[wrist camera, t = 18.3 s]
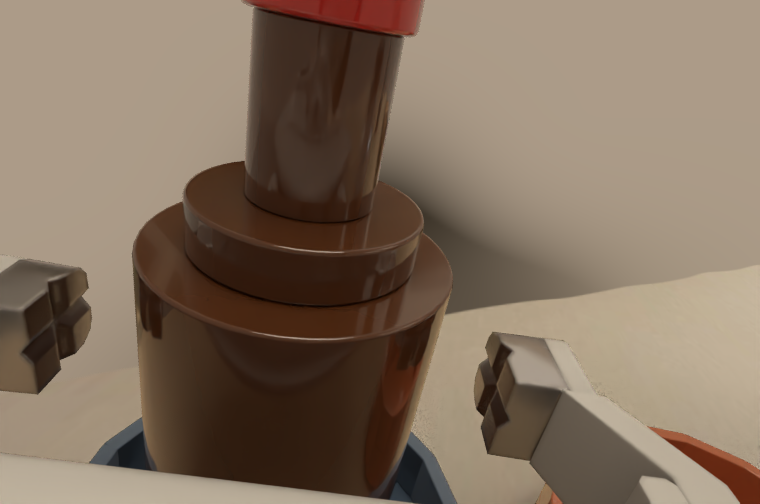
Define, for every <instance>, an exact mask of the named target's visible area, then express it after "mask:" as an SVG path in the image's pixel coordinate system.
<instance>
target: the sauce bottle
mask: <svg viewBox="0 0 760 504" xmlns="http://www.w3.org/2000/svg"><path fill="white" fill-rule="evenodd" d="M241 1H242V2H243V3H244V4H246V5H248V6H252V7H254V8H253V18H252V36H251V37H252V38H251V55H250V56H251V57H250V74H249V94H248V111H247V131H246V151H245V161H241V162H232V163H227V164H223V165H218V166H215V167H211V168H209V169H206V170H204V171H202V172H200V173H198V174H196V175H195V176H194V177H192V178H191V179H190V180H189V181H188V183H187V184H186V186H185V188H184V191H183V201H182V202H180V203H177V204H175V205H172V206H170V207H168V208H166V209H164V210H163V211H161V212H159V213H158V214H156V215H155V216H154V217H153V218H151V219H150V220H149V221H148V222H146V223H145V225H144V226H143V227H142V229H141V230H140V231H139V233H138V235H137V237H136V239H135V241H134V244H133V251H132V262H133V276H134V277H133V278H134V294H135V308H136V309H135V310H136V327H137V343H138V359H139V375H140V391H141V408H142V424H143V440H144V456H145V470H148V471H156V472H164V473H173V474H181V475H189V476H197V477H205V478H214V479H222V480H230V481H238V482H247V483H255V484H263V485H271V486H280V487H288V488H296V489H304V490H312V491H320V492H328V493H336V494H344V495H352V496H360V497H368V498H376V499H384V500H391V497H392V493H393V490H394V487H395V483H396V480H397V476H398V473H399V469H400V466H401V463H402V459H403V456H404V452H405V449H406V445H407V442H408V438H409V435H410V432H411V428H412V425H413V421H414V418H415V414H416V411H417V407H418V404H419V401H420V397H421V394H422V390H423V387H424V383H425V380H426V376H427V373H428V370H429V366H430V363H431V359H432V356H433V352H434V349H435V345H436V342H437V339H438V335H439V332H440V328H441V325H442V321H443V318H444V315H445V311H446V307H447V304H448V300H449V297H450V294H451V290H452V286H453V276H452V272H451V267H450V264H449V262H448V260H447V258H446V256H445V255H444V253H443V252H442V251H441V249H440V248H439V247H438V246H437V245H436V244H435V243H434V242H433V241H432V240H431V239H430V238H429V237H428V236H426V235H425V234H424V233H423V232H422V231H423V227H424V221H423V215H422V213H421V211H420V209H419V207H418V206H417V205H416V204H415V203H414V202H413V201H412V200H411V199H410V198H409V197H407V196H406V195H405V194H403V193H402V192H400V191H398V190H397V189H395V188H393V187H391V186H389V185H387V184H385V183H383V182H381V181H378V177H379V172H380V167H381V162H382V156H383V151H384V145H385V140H386V135H387V129H388V124H389V119H390V113H391V108H392V103H393V97H394V92H395V86H396V81H397V76H398V70H399V64H400V60H401V54H402V49H403V43H404V37H414V36H416V35H417V33H418V32H419V27H420V22H421V17H422V12H423V7H424V2H425V0H241Z"/></svg>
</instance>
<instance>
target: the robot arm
mask: <svg viewBox="0 0 760 504" xmlns="http://www.w3.org/2000/svg"><path fill="white" fill-rule="evenodd" d="M88 288H89V287H88V281H87V275H86V272H84V271H83V270H82V269H81V268H79V267H73V266H67V265H61V264H55V263H50V262H44V261H39V260H32V259H25V258H22V257H15V256H8V255H0V391H9V392H18V393H28V394H37V395H38V394H39V393H40V392H41V391H42V390H43V388H44V387H45V386H46V385H47V384H48V383H49V382H50V381H51V380H52V379H53V377H54V376H55V375H56V374H57V373H58V372H59V371H60V370H61V366H60V360H61V359H64V358H66V357H68V356H70V355H73V354H75V353H76V352H77V351H78V350H79V349H80V347H81V346H82V345H83V344H84V342H85V340H86V338H87V336H88V333H89V331H90V328H91V320H92V315H91V307H90V306H89V304H88V303H87V302H86V301H85V300H84V299H83V297H82V295H83V294H84V293H85V292H86V290H87V289H88ZM485 348H486V352H487V355H488V358H487V359H486V360H485V361H483V362H482V363H481V364H479V367H478V370H477V373H476V377H475V384H474V400H475V405H476V409H477V411H478V412H479V413H480V414H481V415H482V416H483V417H484V419H483V422H482V425H481V430H482V434H483V438H484V442H485V446H486V450H487V454H490V455H496V456H502V457H508V458H515V459H521V460H527V461H530V464H531V465H532V467H533V468H534V469H535V470H536V471H537V473H538V474H539V475H540V476H541V477H542V479H543V480H544V481H545V482H546V483H547V485H548V486H549V487H550V488H551V489H552V491H553V492H554V493H555V494H556V496H557V497H558V498H559V499H560V500H561V502H562V503H563V504H740V502H739V501H738V500H737V498H736V497H735V496H734V494H733V493H732V491H731V490H730V489H729V487H728V486H727V485H726V484H724V483H723V482H722V481H720V480H719V479H718V478H716V477H715V476H714V475H712V474H711V473H710V472H708V471H707V470H705V469H704V468H703V467H701V466H700V465H699V464H697V463H696V462H695V461H693V460H692V459H690V458H689V457H688V456H686V455H685V454H684V453H682V452H681V451H680V450H678V449H677V448H675V447H674V446H673V445H671V444H670V443H669V442H667V441H666V440H665V439H663V438H662V437H660V436H659V435H658V434H656V433H655V432H654V431H652V430H651V429H650V428H648V427H647V426H645V425H644V424H643V423H641V422H640V421H639V420H637V419H636V418H635V417H633V416H632V415H630V414H629V413H628V412H626V411H625V410H624V409H622V408H621V407H620V406H618V405H617V404H615V403H614V402H613V401H611V400H610V399H609V398H607V397H606V396H602V395H598V394H597V393H596V391H595V389H594V387H593V386H592V384H591V382H590V380H589V379H588V377H587V375H586V374H585V372H584V370H583V368H582V367H581V365H580V363H579V361H578V360H577V358H576V356H575V354H574V353H573V351H572V349H571V348H570V346H569V344H568V343H566V342H565V341H563V340H556V339H547V338H536V337H529V336H521V335H514V334H506V333H499V332H492V334H491V335H490V337H489V339H488V341H487V344H486V347H485ZM0 504H416V503H408V502H400V501H392V500H384V499H376V498H368V497H360V496H352V495H344V494H336V493H328V492H320V491H312V490H304V489H296V488H288V487H280V486H271V485H263V484H255V483H247V482H238V481H230V480H222V479H214V478H205V477H197V476H189V475H181V474H173V473H164V472H156V471H148V470H140V469H131V468H123V467H115V466H107V465H98V464H90V463H82V462H74V461H66V460H58V459H49V458H41V457H33V456H25V455H17V454H9V453H0Z"/></svg>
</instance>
